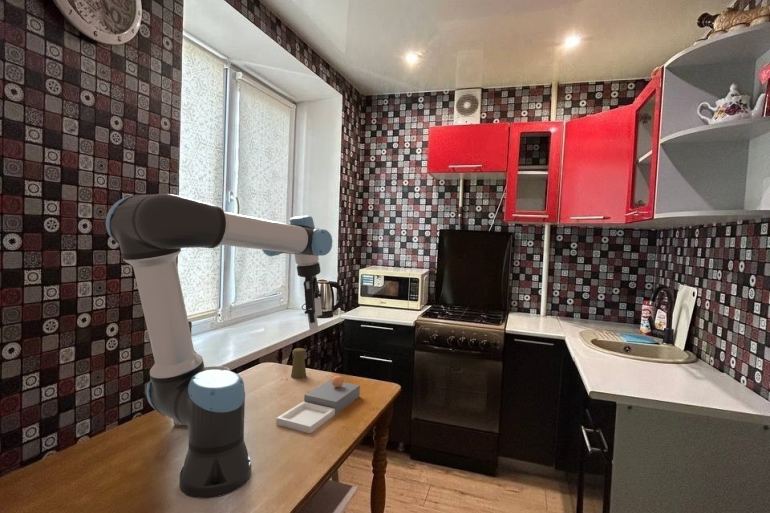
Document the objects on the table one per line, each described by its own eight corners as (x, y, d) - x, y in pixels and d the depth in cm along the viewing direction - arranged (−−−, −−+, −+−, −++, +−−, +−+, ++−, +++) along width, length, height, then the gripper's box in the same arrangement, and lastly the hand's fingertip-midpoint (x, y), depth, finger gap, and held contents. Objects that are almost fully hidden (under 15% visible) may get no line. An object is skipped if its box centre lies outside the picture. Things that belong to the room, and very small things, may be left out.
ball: (339, 390, 136) (340, 378, 136) (329, 387, 138) (329, 376, 138) (345, 386, 140) (345, 374, 140) (335, 384, 142) (335, 373, 141)
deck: (335, 414, 127) (336, 401, 126) (304, 406, 131) (304, 394, 131) (359, 396, 141) (359, 385, 141) (330, 390, 146) (330, 379, 146)
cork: (309, 375, 161) (310, 348, 161) (298, 379, 156) (299, 351, 156) (298, 372, 164) (299, 345, 164) (287, 376, 159) (288, 349, 159)
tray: (310, 433, 114) (310, 426, 114) (276, 424, 119) (276, 417, 119) (335, 414, 126) (335, 408, 126) (303, 407, 131) (303, 401, 131)
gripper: (315, 271, 120) (324, 336, 125) (322, 253, 145) (329, 308, 150) (290, 274, 120) (300, 339, 125) (301, 255, 144) (309, 310, 149)
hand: (316, 322), depth 137 cm, fingers open, 13 cm apart
